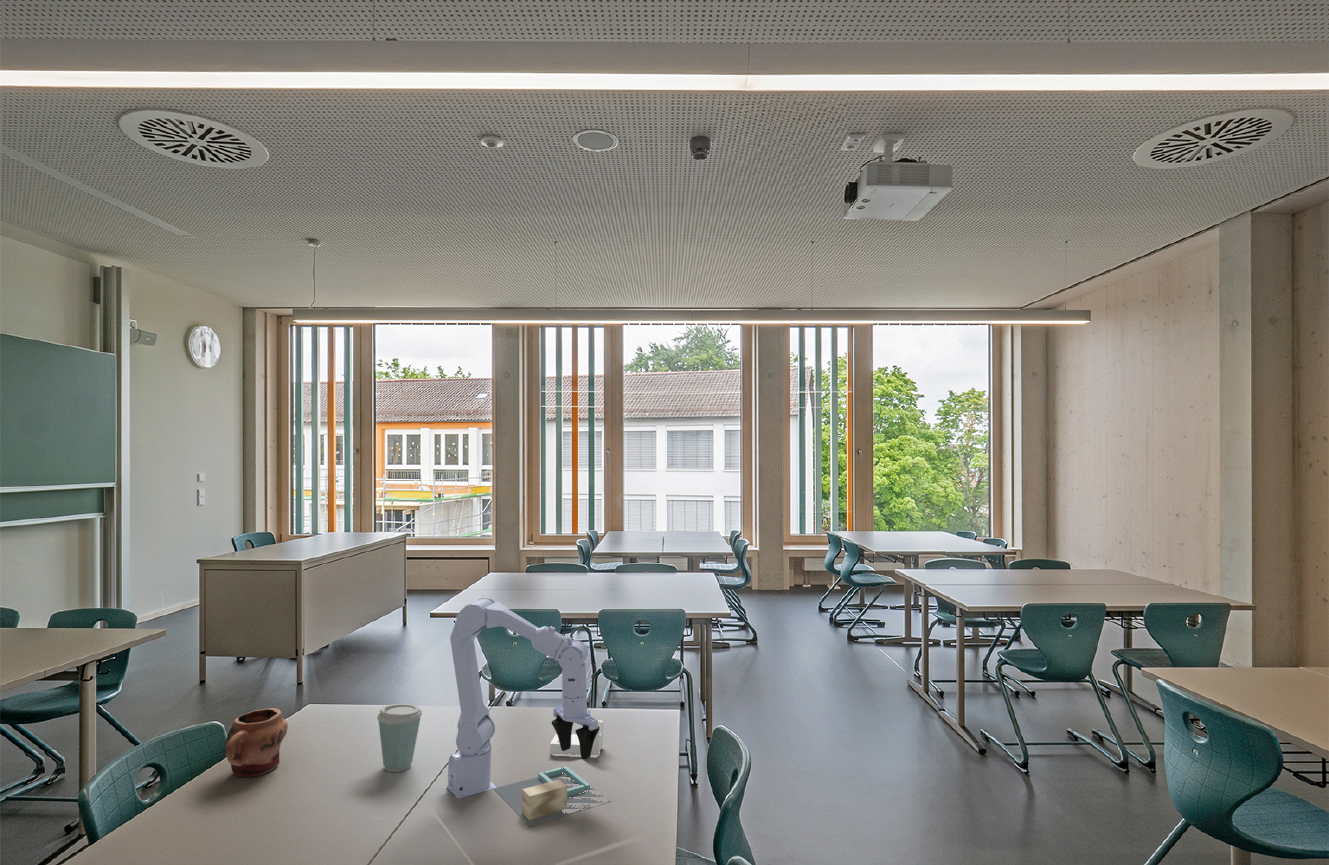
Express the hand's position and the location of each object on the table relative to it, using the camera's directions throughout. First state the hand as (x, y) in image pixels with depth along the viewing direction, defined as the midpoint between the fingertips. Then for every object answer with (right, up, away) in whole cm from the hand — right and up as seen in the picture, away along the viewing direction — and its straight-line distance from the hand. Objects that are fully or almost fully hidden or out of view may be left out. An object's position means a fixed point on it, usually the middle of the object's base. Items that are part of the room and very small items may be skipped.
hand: (575, 753), depth 163 cm
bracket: (-3, -11, +24) cm, 27 cm away
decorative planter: (-82, -9, +9) cm, 83 cm away
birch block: (-6, -8, -10) cm, 14 cm away
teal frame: (-3, -10, +3) cm, 11 cm away
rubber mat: (-5, -9, -2) cm, 11 cm away
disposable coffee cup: (-47, -10, +13) cm, 50 cm away
